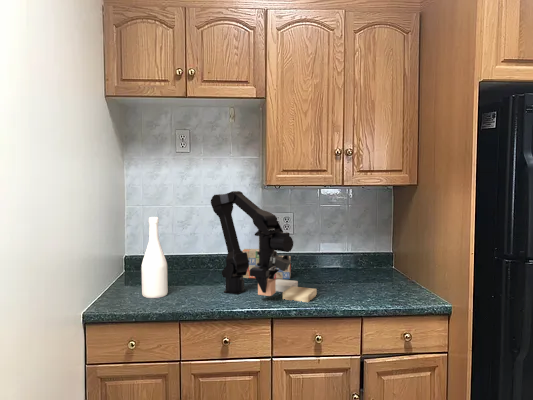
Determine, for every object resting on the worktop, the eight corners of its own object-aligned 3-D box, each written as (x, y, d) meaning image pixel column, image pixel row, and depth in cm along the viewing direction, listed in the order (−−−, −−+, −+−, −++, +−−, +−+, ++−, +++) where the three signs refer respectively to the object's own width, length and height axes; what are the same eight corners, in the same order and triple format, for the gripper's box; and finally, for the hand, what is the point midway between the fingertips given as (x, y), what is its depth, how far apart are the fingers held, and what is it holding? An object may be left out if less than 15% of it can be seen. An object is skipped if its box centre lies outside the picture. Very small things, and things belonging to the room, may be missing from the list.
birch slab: (282, 300, 169) (282, 292, 169) (291, 293, 178) (292, 286, 178) (308, 303, 165) (308, 295, 165) (316, 296, 174) (316, 288, 174)
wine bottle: (153, 290, 181) (152, 215, 179) (172, 293, 176) (171, 216, 175) (136, 296, 172) (135, 217, 171) (156, 300, 168) (154, 219, 166)
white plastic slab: (268, 291, 182) (268, 284, 182) (277, 286, 190) (277, 279, 190) (290, 293, 178) (290, 286, 178) (297, 288, 187) (297, 281, 186)
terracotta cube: (257, 294, 167) (257, 281, 166) (263, 291, 171) (263, 278, 171) (270, 296, 165) (270, 282, 165) (275, 292, 170) (275, 279, 169)
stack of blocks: (290, 276, 207) (290, 249, 206) (289, 279, 201) (289, 251, 200) (244, 274, 210) (244, 248, 209) (241, 278, 203) (241, 250, 203)
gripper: (278, 254, 155) (278, 299, 156) (295, 246, 173) (295, 286, 174) (248, 252, 160) (248, 296, 161) (268, 244, 177) (268, 284, 178)
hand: (266, 290), depth 168 cm, fingers closed on terracotta cube, 5 cm apart
